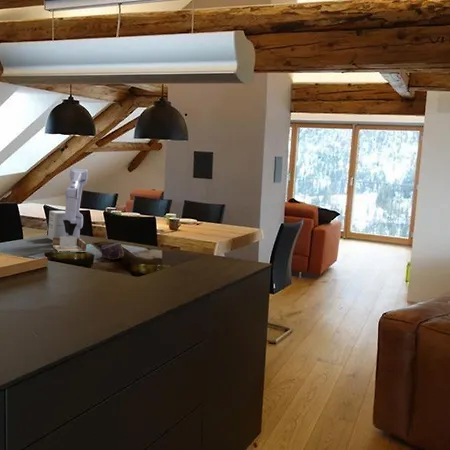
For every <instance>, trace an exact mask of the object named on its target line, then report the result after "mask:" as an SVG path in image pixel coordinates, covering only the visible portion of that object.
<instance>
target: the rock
mask: <svg viewBox="0 0 450 450" xmlns="http://www.w3.org/2000/svg"><path fill="white" fill-rule="evenodd" d="M100 250H101V251H100V252H101V258H103V259H108V260H117V259H119V258H123V257H124V256H125V251H124V249H123V245H122V243H121V242H119V243H118V242H117V243H110V244H104V245H101V247H100Z"/></svg>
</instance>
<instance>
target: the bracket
mask: <svg viewBox="0 0 450 450" xmlns="http://www.w3.org/2000/svg"><path fill="white" fill-rule="evenodd" d="M76 244H77V237H75V236H60V244H59V247H60V248H61V249H78V246H76Z"/></svg>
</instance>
